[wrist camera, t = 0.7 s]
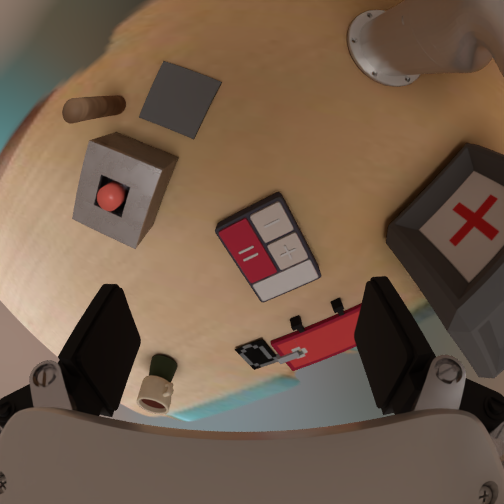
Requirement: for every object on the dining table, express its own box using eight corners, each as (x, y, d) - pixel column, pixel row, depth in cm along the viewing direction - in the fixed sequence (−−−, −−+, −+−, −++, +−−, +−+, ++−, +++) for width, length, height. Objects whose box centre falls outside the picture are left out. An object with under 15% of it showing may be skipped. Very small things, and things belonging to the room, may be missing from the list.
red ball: (110, 176, 34) (100, 182, 31) (131, 185, 34) (121, 192, 32) (104, 197, 35) (94, 205, 33) (124, 206, 36) (115, 215, 33)
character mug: (162, 375, 64) (151, 417, 53) (140, 359, 61) (125, 403, 50) (191, 362, 61) (181, 409, 49) (168, 345, 58) (154, 393, 47)
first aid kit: (506, 224, 42) (578, 289, 20) (432, 300, 51) (485, 389, 30) (465, 132, 34) (578, 180, 12) (374, 228, 44) (450, 337, 22)
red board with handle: (229, 341, 57) (263, 376, 63) (229, 351, 54) (263, 385, 61) (367, 282, 50) (383, 328, 56) (372, 291, 47) (387, 337, 54)
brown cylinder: (112, 93, 33) (66, 95, 23) (128, 98, 34) (85, 101, 23) (106, 111, 35) (59, 119, 24) (121, 117, 35) (77, 126, 25)
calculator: (281, 197, 38) (323, 280, 44) (279, 189, 42) (318, 266, 48) (212, 232, 41) (261, 306, 47) (217, 221, 45) (261, 291, 50)
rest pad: (164, 61, 31) (163, 60, 31) (221, 82, 33) (221, 82, 33) (140, 117, 35) (138, 117, 35) (194, 138, 37) (193, 139, 37)
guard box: (116, 132, 36) (89, 140, 29) (178, 157, 39) (161, 170, 32) (97, 199, 42) (72, 218, 35) (153, 225, 44) (135, 249, 37)
